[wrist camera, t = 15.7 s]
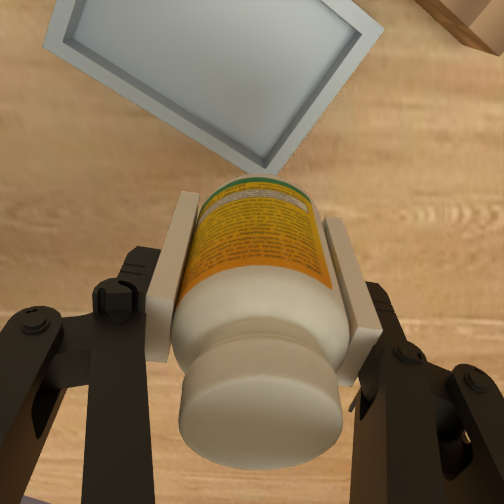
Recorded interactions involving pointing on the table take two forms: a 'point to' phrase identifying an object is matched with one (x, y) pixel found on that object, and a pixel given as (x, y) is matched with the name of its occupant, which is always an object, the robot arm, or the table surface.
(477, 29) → the wooden peg board
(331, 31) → the tray
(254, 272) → the supplement bottle
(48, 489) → the table surface
